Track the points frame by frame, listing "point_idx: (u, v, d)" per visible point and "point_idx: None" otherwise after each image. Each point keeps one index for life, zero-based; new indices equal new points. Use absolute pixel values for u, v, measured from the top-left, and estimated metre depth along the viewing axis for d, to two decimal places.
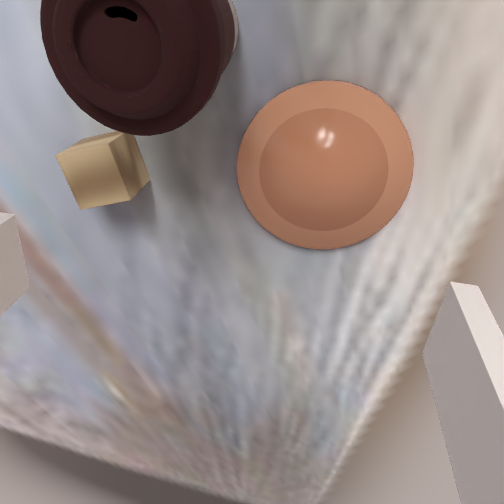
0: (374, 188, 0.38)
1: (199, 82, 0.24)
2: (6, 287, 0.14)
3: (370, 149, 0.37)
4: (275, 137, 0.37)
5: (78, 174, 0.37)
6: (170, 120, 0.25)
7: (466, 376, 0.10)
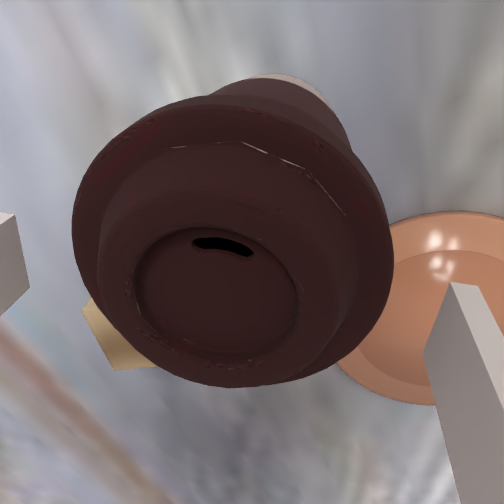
0: None
1: (345, 332, 0.14)
2: (6, 287, 0.14)
3: None
4: None
5: (112, 332, 0.28)
6: None
7: (466, 376, 0.10)
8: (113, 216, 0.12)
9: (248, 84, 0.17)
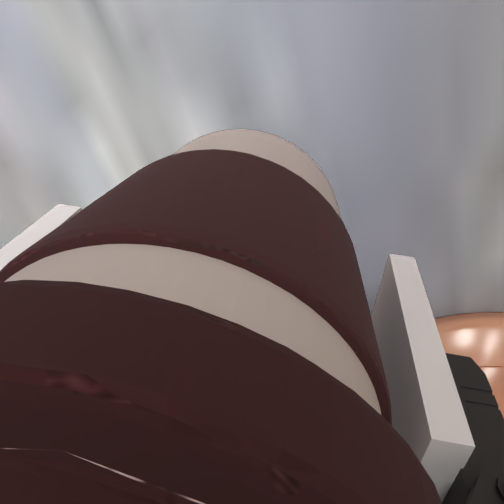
0: None
1: None
2: None
3: None
4: None
5: None
6: None
7: (393, 334, 0.11)
8: None
9: (180, 174, 0.10)
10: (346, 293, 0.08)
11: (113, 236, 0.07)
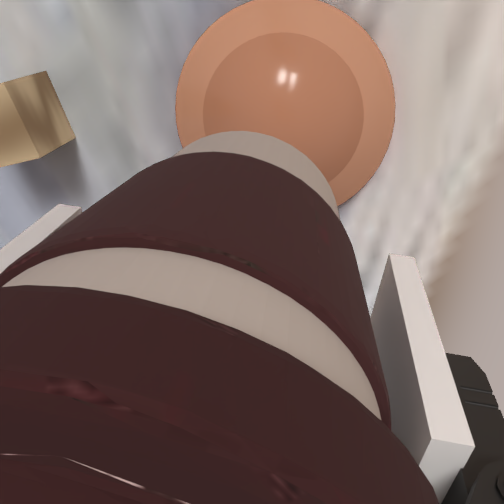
0: (347, 139, 0.30)
1: None
2: None
3: (339, 86, 0.29)
4: (219, 74, 0.29)
5: None
6: None
7: (393, 334, 0.11)
8: None
9: (180, 177, 0.10)
10: (345, 296, 0.08)
11: (113, 240, 0.07)
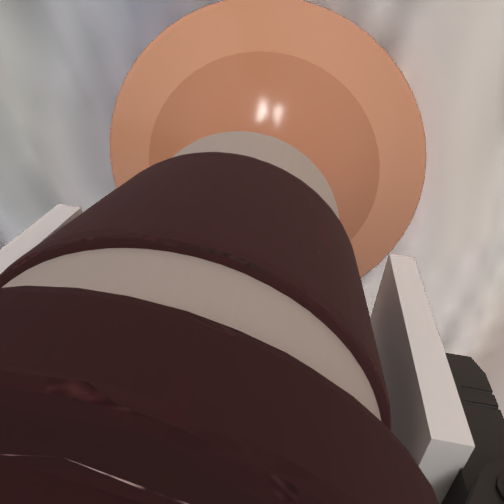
0: (355, 202, 0.21)
1: None
2: None
3: (344, 130, 0.19)
4: (170, 111, 0.20)
5: None
6: None
7: (393, 334, 0.11)
8: None
9: (180, 178, 0.10)
10: (345, 296, 0.08)
11: (113, 240, 0.07)
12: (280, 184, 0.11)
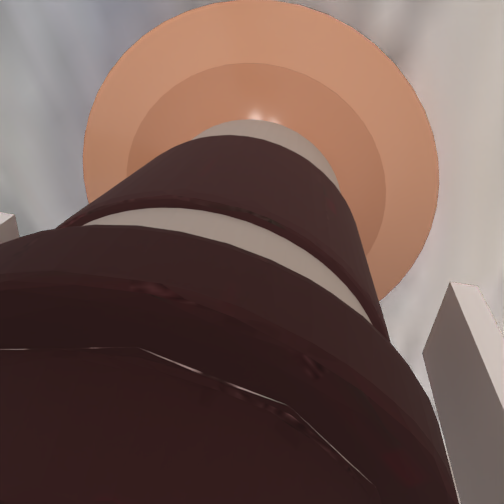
0: (358, 231, 0.19)
1: None
2: None
3: (346, 151, 0.17)
4: (149, 129, 0.18)
5: None
6: None
7: (466, 376, 0.10)
8: None
9: (202, 154, 0.11)
10: (352, 255, 0.09)
11: (152, 201, 0.08)
12: (291, 162, 0.12)
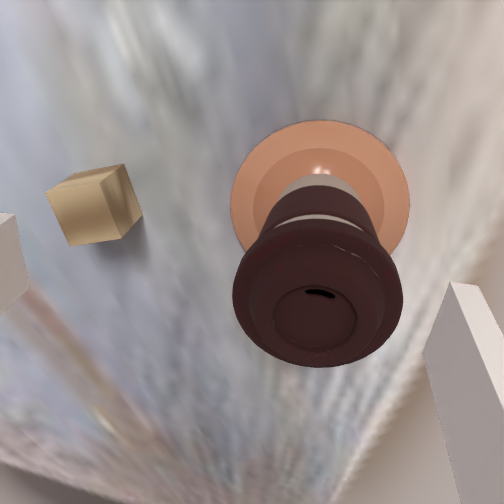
0: None
1: (376, 337, 0.26)
2: (6, 287, 0.14)
3: (366, 189, 0.36)
4: (269, 175, 0.37)
5: (68, 211, 0.37)
6: None
7: (467, 376, 0.10)
8: (268, 278, 0.24)
9: (318, 195, 0.30)
10: (373, 231, 0.28)
11: (314, 212, 0.27)
12: (348, 198, 0.31)
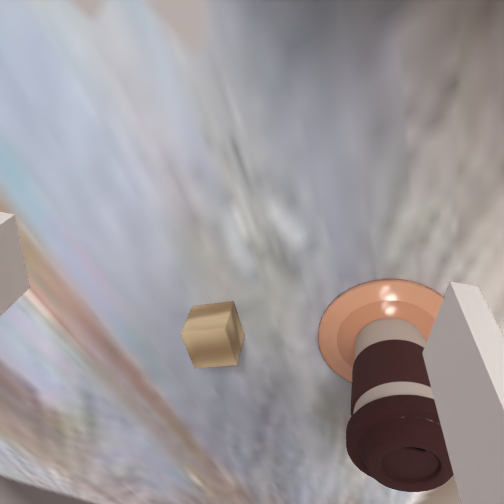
0: None
1: None
2: (6, 287, 0.14)
3: (428, 328, 0.47)
4: (352, 316, 0.47)
5: (197, 346, 0.48)
6: None
7: (466, 376, 0.10)
8: (379, 439, 0.35)
9: (401, 356, 0.40)
10: None
11: (404, 380, 0.38)
12: (422, 354, 0.41)
